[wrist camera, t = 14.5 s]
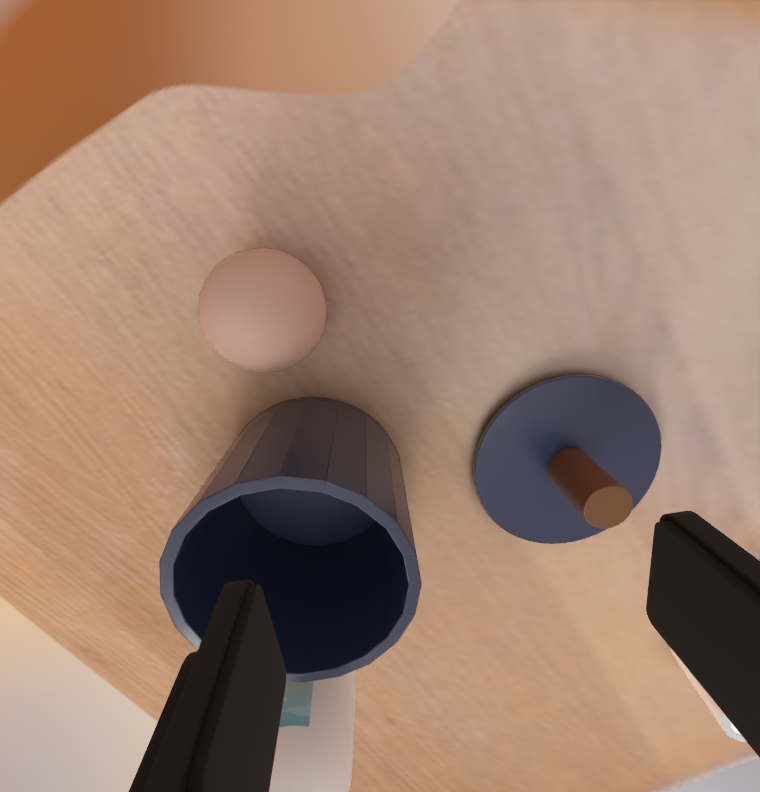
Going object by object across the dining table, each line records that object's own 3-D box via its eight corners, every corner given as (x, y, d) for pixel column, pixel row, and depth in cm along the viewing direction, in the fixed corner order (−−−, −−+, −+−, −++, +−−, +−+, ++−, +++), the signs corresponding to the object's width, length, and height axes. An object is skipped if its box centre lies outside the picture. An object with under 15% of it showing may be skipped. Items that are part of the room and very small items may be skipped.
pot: (349, 365, 29) (340, 429, 18) (429, 505, 33) (461, 625, 22) (194, 447, 31) (102, 550, 20) (289, 571, 35) (255, 712, 24)
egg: (331, 250, 27) (314, 248, 18) (332, 352, 29) (317, 397, 20) (226, 247, 26) (152, 243, 17) (235, 350, 29) (174, 395, 19)
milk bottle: (357, 592, 36) (350, 963, 17) (355, 656, 38) (347, 1044, 20) (268, 591, 36) (161, 971, 17) (272, 657, 38) (182, 1052, 19)
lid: (620, 337, 29) (691, 359, 23) (671, 489, 34) (742, 542, 27) (441, 426, 31) (460, 469, 25) (511, 559, 35) (543, 625, 29)
